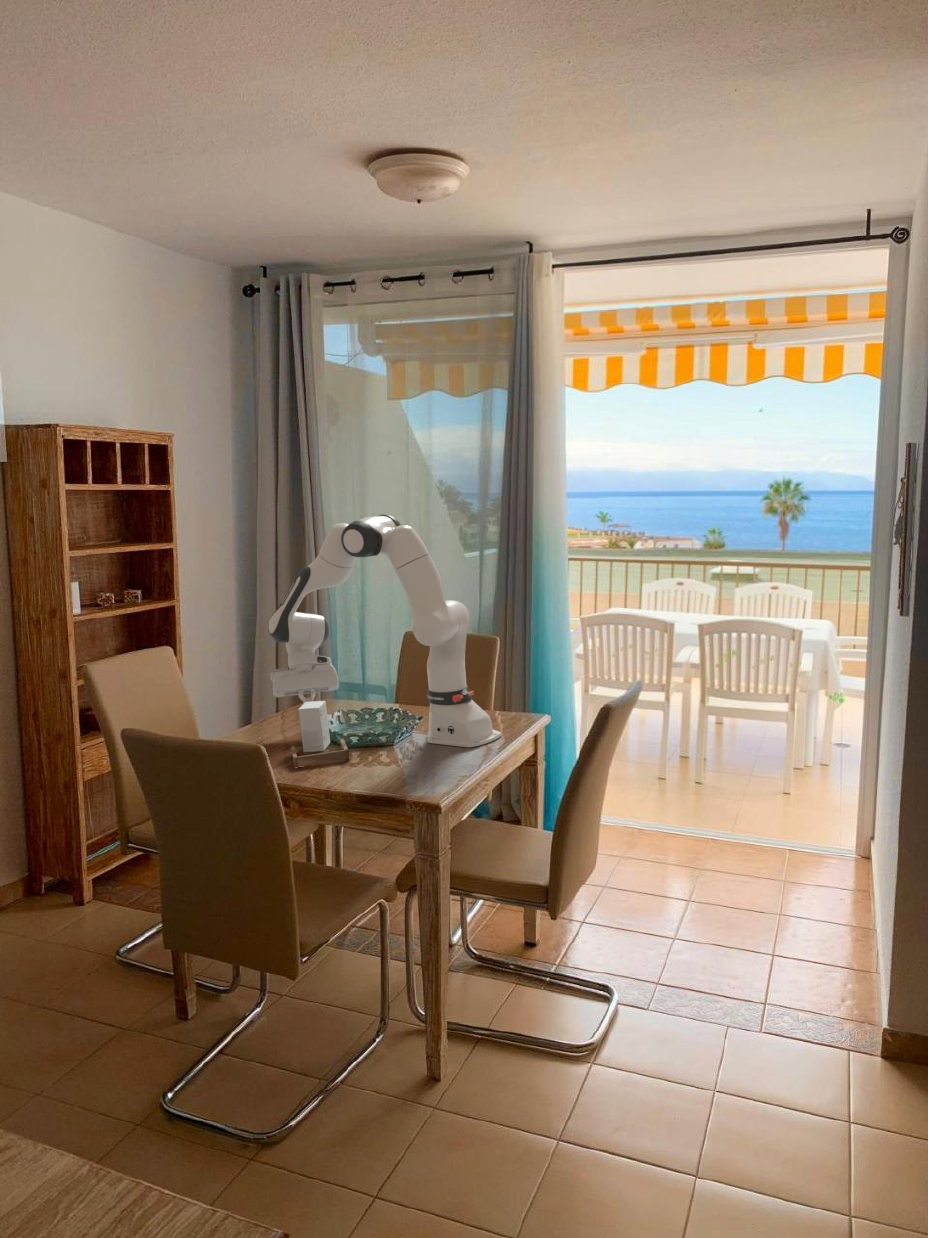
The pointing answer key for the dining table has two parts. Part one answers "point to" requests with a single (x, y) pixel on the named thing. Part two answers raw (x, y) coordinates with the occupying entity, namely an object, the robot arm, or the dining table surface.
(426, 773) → the dining table surface
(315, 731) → the small box
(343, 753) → the walnut bay
